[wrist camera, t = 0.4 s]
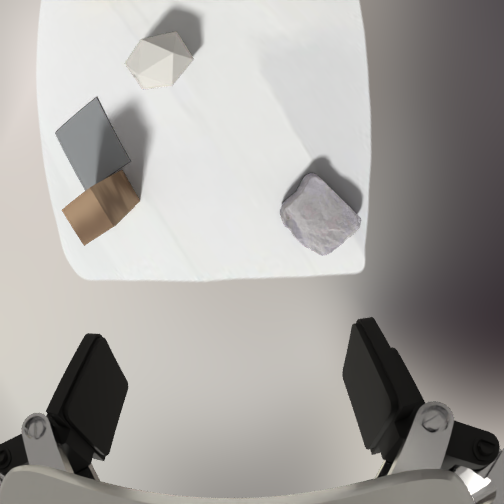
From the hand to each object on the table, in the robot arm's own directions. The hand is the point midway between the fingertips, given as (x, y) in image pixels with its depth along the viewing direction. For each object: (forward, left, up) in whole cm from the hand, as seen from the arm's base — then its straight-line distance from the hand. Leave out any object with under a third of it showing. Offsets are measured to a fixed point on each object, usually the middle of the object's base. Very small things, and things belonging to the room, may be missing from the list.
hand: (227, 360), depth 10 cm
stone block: (+12, +8, -36) cm, 39 cm away
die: (-20, -2, -36) cm, 41 cm away
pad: (-16, -19, -36) cm, 43 cm away
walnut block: (-6, -19, -36) cm, 41 cm away
